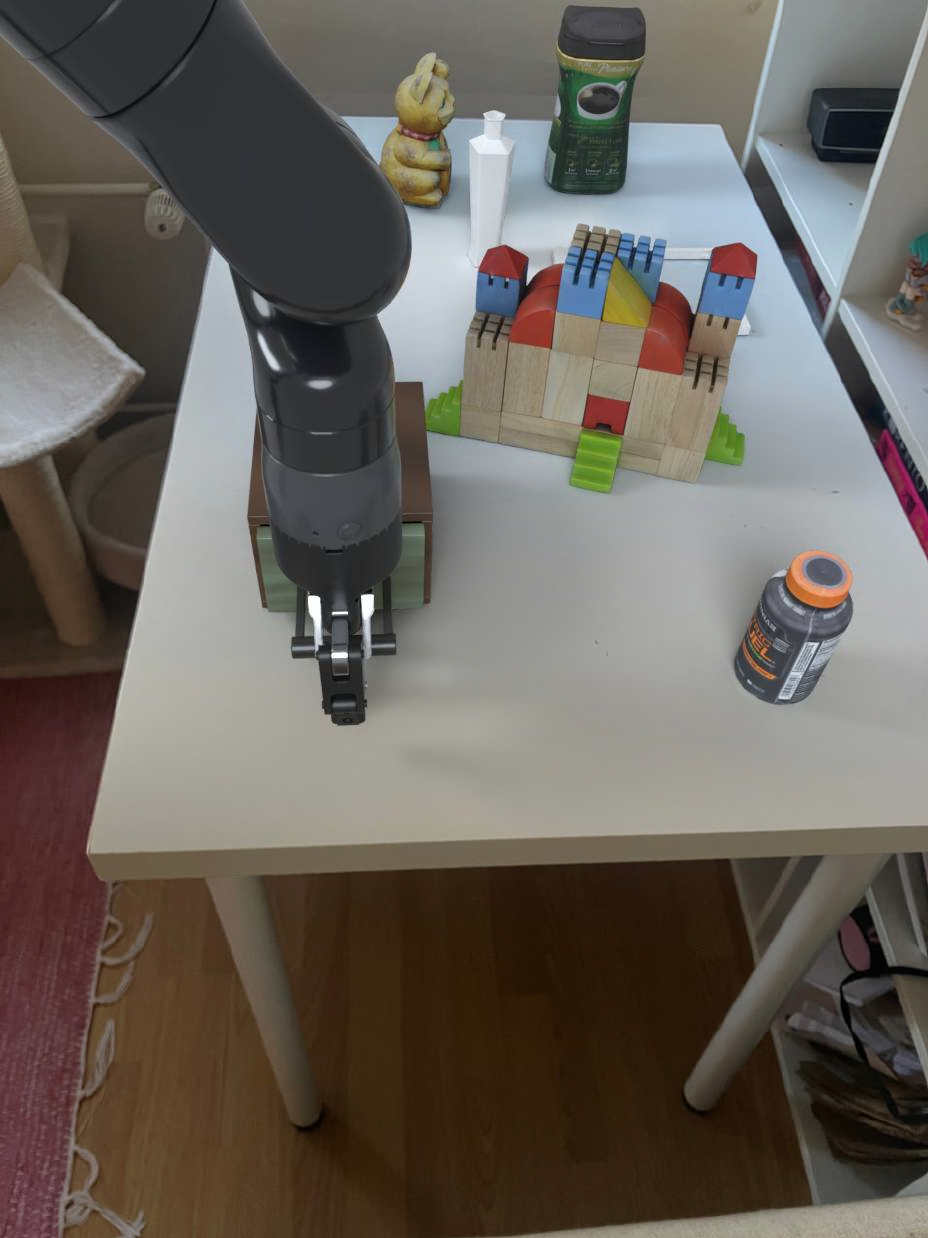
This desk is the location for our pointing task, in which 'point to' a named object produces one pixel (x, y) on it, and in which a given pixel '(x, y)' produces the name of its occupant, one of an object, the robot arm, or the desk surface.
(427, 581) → the cabinet
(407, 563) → the drawer
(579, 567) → the desk surface
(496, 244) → the perfume bottle
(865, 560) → the desk surface
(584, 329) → the block set
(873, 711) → the desk surface
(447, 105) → the decorative figurine
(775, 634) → the pill bottle
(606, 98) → the coffee jar
